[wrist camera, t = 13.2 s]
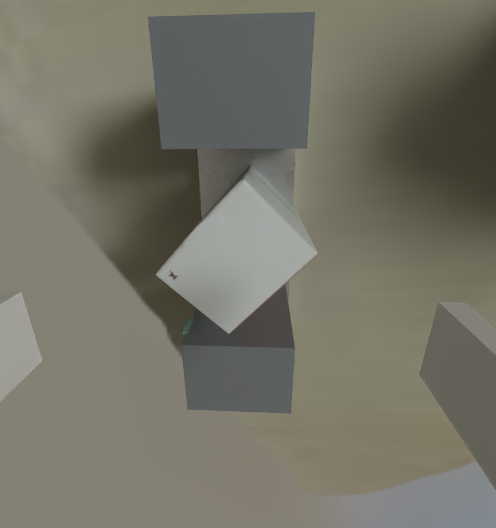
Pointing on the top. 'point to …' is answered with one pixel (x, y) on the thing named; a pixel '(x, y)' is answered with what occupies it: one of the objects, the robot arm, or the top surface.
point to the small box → (239, 252)
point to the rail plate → (235, 163)
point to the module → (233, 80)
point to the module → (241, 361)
